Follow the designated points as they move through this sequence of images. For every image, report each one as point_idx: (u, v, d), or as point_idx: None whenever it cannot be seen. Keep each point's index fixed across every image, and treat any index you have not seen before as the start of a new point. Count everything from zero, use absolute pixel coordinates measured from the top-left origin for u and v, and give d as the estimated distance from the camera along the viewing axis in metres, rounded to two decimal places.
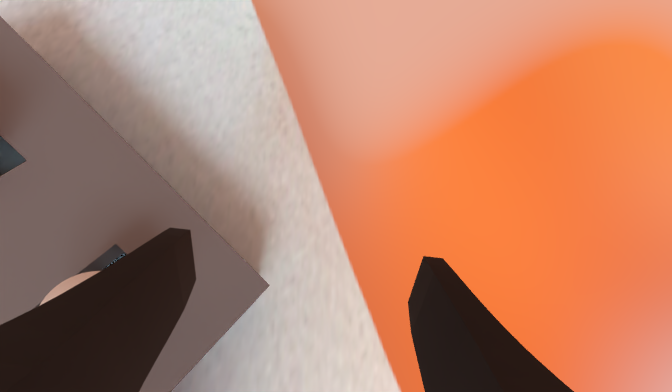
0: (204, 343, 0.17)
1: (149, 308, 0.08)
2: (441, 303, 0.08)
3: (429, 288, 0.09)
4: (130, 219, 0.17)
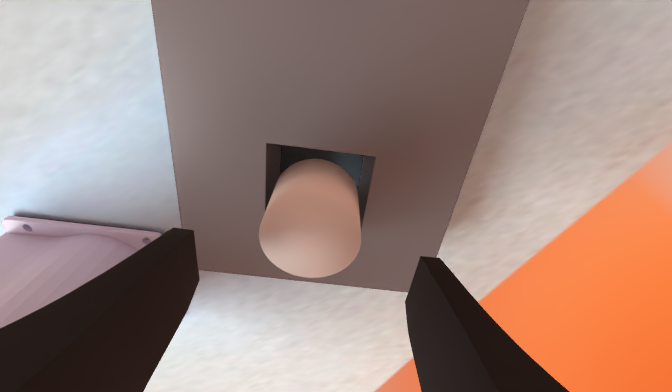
0: (340, 279, 0.16)
1: (153, 309, 0.08)
2: (437, 303, 0.08)
3: (426, 288, 0.09)
4: (409, 148, 0.13)
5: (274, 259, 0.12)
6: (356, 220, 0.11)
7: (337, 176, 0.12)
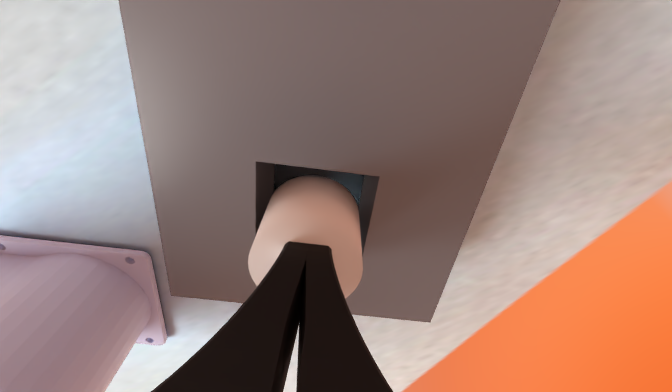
0: None
1: (292, 323, 0.08)
2: (304, 288, 0.08)
3: (304, 274, 0.09)
4: (417, 167, 0.11)
5: None
6: (357, 247, 0.10)
7: (336, 195, 0.11)
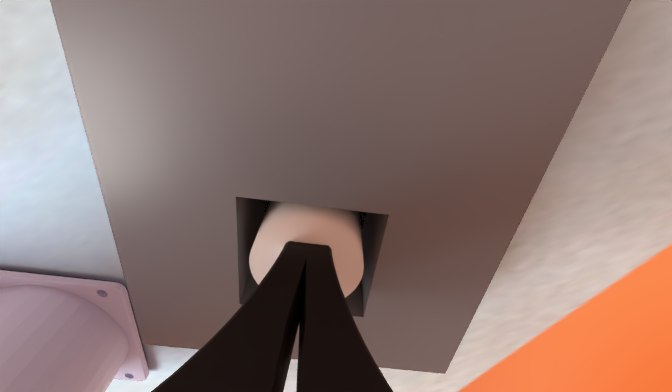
0: None
1: (292, 323, 0.08)
2: (304, 288, 0.08)
3: (304, 274, 0.09)
4: (435, 204, 0.09)
5: None
6: (358, 246, 0.10)
7: None
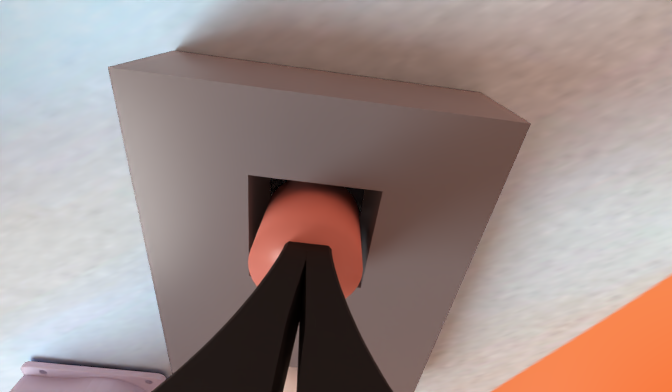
0: None
1: (292, 323, 0.08)
2: (304, 288, 0.08)
3: (304, 274, 0.09)
4: None
5: None
6: None
7: None
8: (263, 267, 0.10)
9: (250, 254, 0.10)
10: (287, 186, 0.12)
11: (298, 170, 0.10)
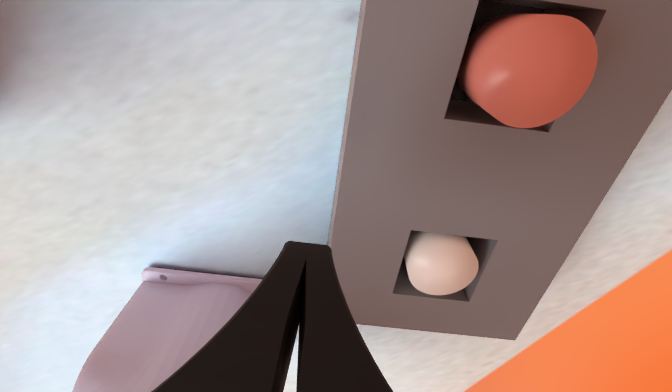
0: (447, 328, 0.20)
1: (292, 323, 0.08)
2: (304, 288, 0.08)
3: (304, 274, 0.09)
4: (526, 234, 0.16)
5: (414, 283, 0.18)
6: (476, 258, 0.17)
7: None
8: (498, 75, 0.11)
9: (493, 57, 0.11)
10: (496, 18, 0.12)
11: None
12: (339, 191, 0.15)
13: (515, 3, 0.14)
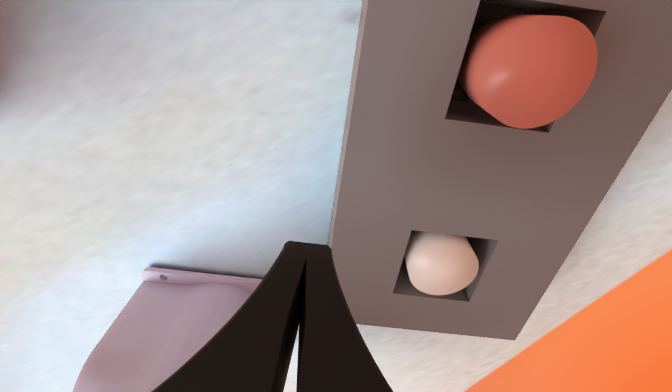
0: (447, 328, 0.20)
1: (292, 323, 0.08)
2: (304, 288, 0.08)
3: (304, 274, 0.09)
4: (526, 234, 0.16)
5: (415, 283, 0.18)
6: (476, 258, 0.17)
7: None
8: (499, 75, 0.11)
9: (493, 58, 0.11)
10: (497, 20, 0.12)
11: None
12: (340, 191, 0.15)
13: (515, 4, 0.14)
